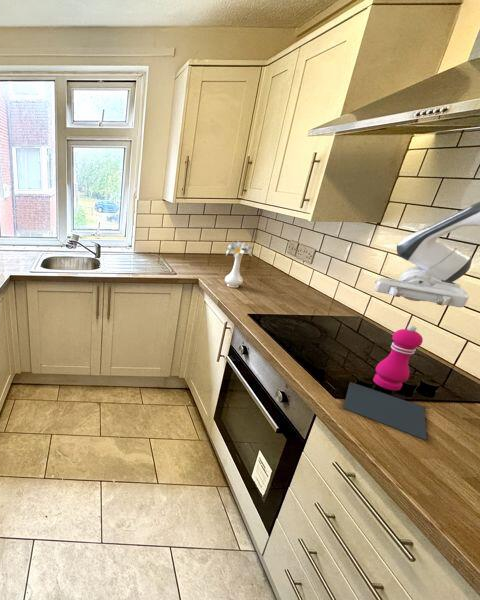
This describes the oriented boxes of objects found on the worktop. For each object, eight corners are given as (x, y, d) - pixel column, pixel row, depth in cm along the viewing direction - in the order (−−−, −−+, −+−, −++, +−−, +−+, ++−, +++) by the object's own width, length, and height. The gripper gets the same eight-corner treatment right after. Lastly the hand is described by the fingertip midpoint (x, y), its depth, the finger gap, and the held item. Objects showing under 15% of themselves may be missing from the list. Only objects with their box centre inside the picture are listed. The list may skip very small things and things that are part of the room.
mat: (423, 407, 87) (423, 406, 87) (426, 440, 76) (426, 439, 76) (349, 382, 97) (349, 381, 97) (343, 408, 86) (343, 407, 86)
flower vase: (239, 281, 185) (248, 238, 176) (248, 291, 169) (259, 245, 159) (216, 279, 188) (223, 237, 178) (223, 290, 171) (231, 244, 161)
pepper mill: (408, 388, 94) (437, 329, 86) (394, 394, 91) (422, 333, 84) (379, 375, 100) (404, 318, 93) (365, 380, 98) (389, 322, 90)
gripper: (379, 271, 109) (376, 280, 100) (467, 285, 96) (474, 297, 87) (372, 288, 112) (369, 298, 102) (458, 304, 99) (464, 317, 89)
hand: (418, 298), depth 95 cm, fingers open, 8 cm apart
